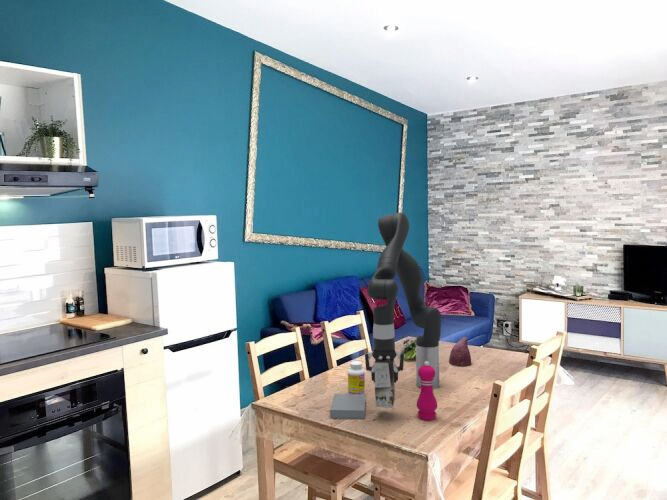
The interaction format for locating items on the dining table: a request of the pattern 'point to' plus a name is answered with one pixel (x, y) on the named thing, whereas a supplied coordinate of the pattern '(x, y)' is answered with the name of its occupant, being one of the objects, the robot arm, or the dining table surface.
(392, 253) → the robot arm
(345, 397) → the block
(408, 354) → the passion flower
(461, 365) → the vegetable
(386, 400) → the coffee box
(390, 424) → the dining table surface
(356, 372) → the supplement bottle
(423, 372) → the pepper mill
